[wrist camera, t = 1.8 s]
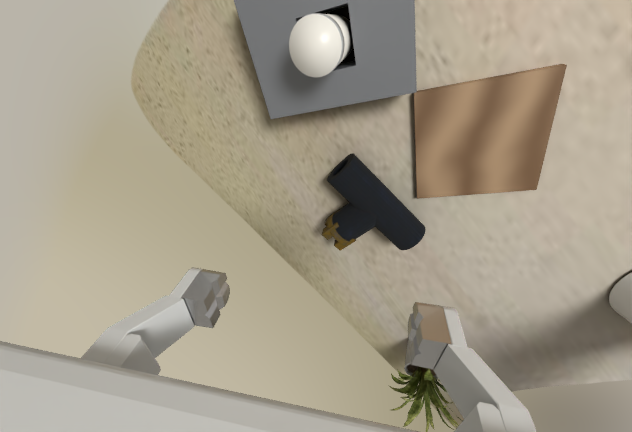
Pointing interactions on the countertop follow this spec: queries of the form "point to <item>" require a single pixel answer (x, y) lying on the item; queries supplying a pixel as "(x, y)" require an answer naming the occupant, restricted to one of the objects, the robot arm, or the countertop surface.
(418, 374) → the house plant
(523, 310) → the countertop surface
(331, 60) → the plug
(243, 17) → the socket block
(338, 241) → the pipe connector
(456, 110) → the pad
